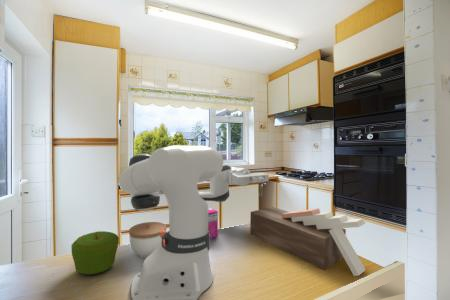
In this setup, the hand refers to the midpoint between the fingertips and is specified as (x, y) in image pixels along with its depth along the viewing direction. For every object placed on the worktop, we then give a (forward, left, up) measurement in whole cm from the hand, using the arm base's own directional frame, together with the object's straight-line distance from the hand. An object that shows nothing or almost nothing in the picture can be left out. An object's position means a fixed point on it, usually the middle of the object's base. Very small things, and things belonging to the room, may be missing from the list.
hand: (262, 180), depth 102 cm
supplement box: (-25, -1, -23) cm, 34 cm away
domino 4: (+10, -27, -12) cm, 31 cm away
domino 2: (+6, -17, -12) cm, 22 cm away
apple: (-64, -15, -23) cm, 70 cm away
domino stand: (+6, -16, -23) cm, 29 cm away
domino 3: (+8, -22, -12) cm, 26 cm away
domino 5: (+11, -32, -11) cm, 36 cm away
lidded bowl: (-49, -8, -23) cm, 55 cm away
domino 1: (+4, -13, -12) cm, 18 cm away
